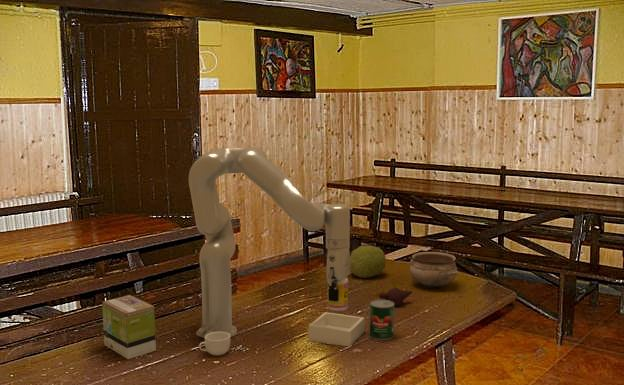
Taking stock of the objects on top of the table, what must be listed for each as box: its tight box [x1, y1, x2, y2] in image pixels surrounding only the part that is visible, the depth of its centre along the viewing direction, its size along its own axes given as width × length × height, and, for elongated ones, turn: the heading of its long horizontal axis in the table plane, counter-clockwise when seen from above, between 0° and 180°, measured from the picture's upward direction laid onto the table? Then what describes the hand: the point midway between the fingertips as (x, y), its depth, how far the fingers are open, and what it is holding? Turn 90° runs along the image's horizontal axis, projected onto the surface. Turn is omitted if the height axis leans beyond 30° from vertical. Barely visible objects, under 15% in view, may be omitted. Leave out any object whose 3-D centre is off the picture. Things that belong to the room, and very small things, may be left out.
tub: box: [308, 311, 366, 348], centre depth 215 cm, size 14×14×5 cm
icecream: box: [377, 286, 413, 307], centre depth 247 cm, size 7×8×15 cm
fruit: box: [350, 244, 387, 279], centre depth 285 cm, size 16×14×15 cm
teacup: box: [198, 331, 231, 356], centre depth 201 cm, size 10×8×5 cm
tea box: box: [101, 294, 157, 360], centre depth 204 cm, size 15×10×15 cm, turn 45°
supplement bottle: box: [327, 276, 349, 312], centre depth 213 cm, size 7×7×13 cm
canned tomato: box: [368, 299, 395, 341], centre depth 216 cm, size 8×8×11 cm
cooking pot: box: [409, 251, 459, 289], centre depth 271 cm, size 25×19×12 cm
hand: (337, 296), depth 214 cm, fingers closed on supplement bottle, 6 cm apart
